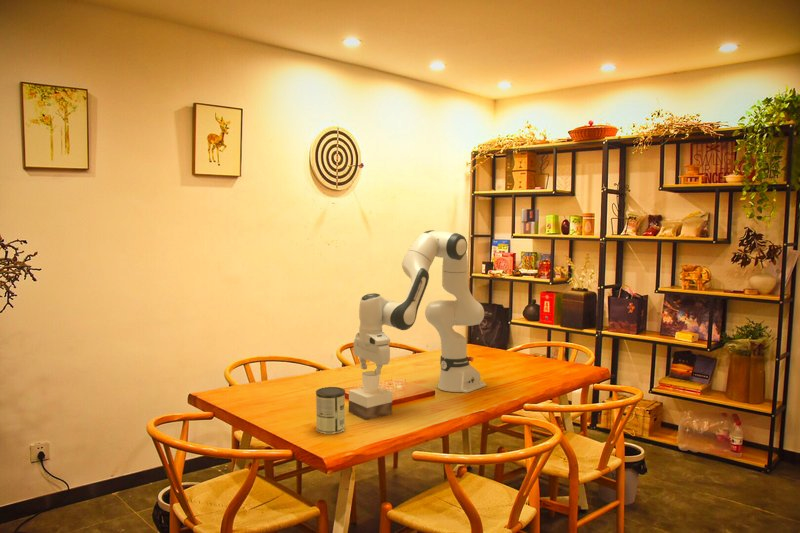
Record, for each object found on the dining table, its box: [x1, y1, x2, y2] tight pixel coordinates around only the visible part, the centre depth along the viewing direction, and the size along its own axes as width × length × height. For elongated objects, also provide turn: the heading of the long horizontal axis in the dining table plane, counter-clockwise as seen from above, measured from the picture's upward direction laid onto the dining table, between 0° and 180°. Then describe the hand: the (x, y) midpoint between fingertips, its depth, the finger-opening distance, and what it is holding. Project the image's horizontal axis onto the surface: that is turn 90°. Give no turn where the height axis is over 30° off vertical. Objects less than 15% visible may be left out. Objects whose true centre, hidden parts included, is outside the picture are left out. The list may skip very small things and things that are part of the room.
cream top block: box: [348, 386, 393, 408], centre depth 239 cm, size 12×12×4 cm
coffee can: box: [315, 386, 346, 435], centre depth 220 cm, size 10×10×14 cm
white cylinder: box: [361, 370, 381, 393], centre depth 239 cm, size 7×7×7 cm
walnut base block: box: [348, 400, 393, 421], centre depth 239 cm, size 12×12×5 cm
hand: (370, 371), depth 239 cm, fingers open, 8 cm apart
